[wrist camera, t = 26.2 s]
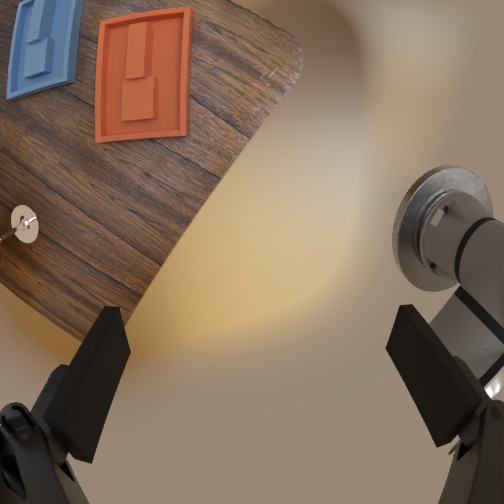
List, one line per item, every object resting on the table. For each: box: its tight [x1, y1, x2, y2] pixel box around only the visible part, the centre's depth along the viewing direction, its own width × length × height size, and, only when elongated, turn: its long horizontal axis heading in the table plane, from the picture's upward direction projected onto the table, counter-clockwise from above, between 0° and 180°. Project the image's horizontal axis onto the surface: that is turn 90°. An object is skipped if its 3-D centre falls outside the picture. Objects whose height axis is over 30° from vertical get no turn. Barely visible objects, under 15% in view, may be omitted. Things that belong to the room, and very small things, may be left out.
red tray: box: [95, 7, 194, 143], centre depth 30 cm, size 12×17×2 cm
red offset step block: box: [122, 22, 158, 121], centre depth 29 cm, size 12×4×3 cm, turn 179°
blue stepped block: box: [24, 0, 56, 79], centre depth 24 cm, size 12×4×3 cm, turn 179°
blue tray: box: [7, 0, 84, 100], centre depth 25 cm, size 12×17×2 cm
